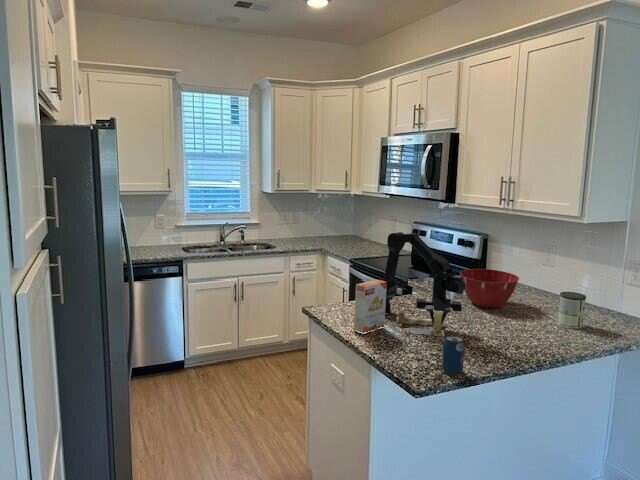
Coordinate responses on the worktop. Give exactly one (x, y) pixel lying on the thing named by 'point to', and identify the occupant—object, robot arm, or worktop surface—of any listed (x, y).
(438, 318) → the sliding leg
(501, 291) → the mixing bowl
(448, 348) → the soda can
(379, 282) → the cracker box
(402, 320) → the trammel beam
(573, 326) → the coffee can
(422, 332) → the bolt plate
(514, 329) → the worktop surface
